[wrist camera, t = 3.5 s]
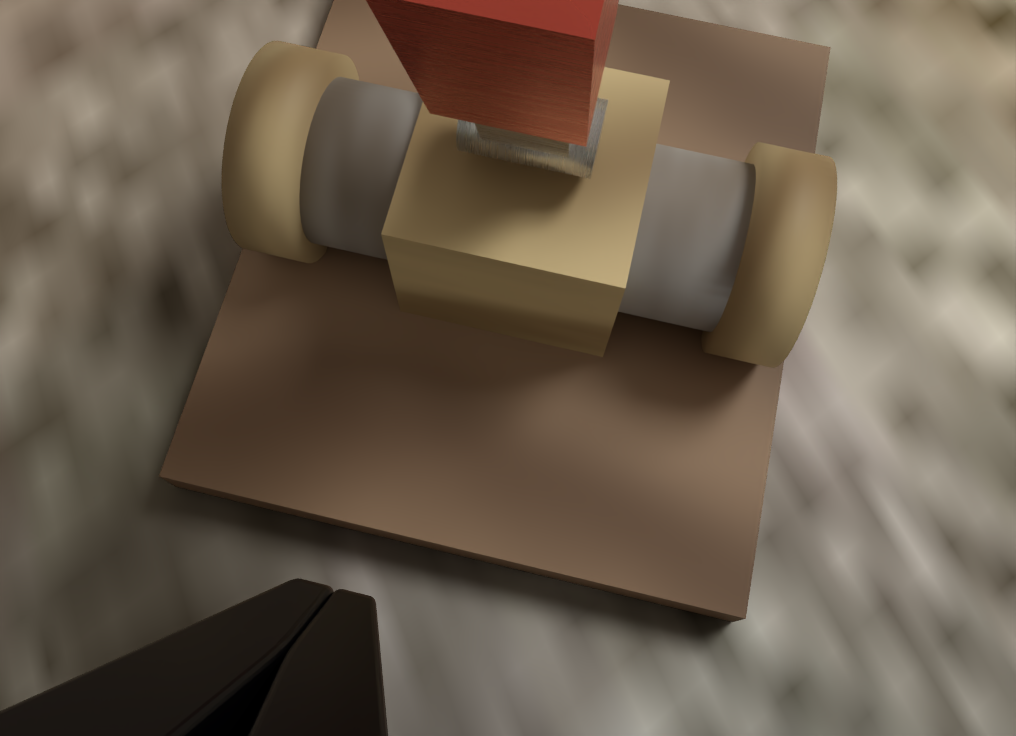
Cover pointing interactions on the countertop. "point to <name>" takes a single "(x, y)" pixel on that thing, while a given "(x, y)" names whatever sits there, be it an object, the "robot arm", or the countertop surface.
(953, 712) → the countertop surface
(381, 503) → the valve stand
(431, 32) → the lever
